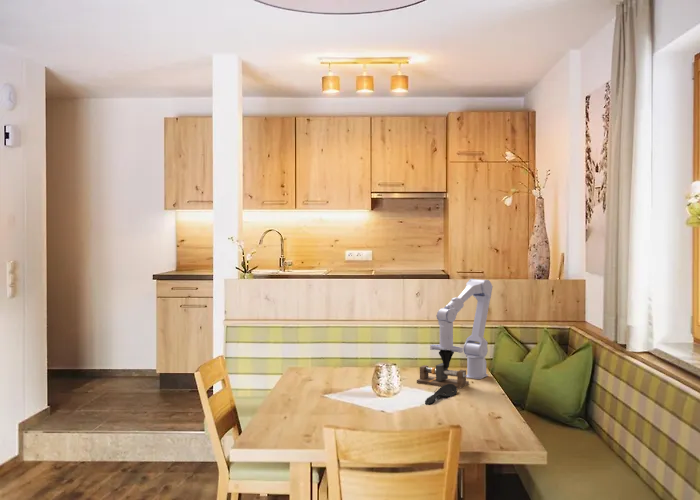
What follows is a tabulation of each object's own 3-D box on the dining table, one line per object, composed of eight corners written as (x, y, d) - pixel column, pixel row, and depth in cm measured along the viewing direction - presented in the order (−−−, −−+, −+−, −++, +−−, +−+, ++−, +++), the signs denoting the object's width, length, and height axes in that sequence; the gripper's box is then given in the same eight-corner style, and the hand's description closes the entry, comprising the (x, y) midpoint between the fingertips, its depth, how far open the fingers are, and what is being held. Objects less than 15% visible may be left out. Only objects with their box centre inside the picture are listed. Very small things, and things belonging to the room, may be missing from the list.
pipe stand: (427, 378, 302) (427, 364, 301) (468, 384, 290) (468, 369, 290) (416, 382, 293) (416, 368, 293) (458, 388, 282) (458, 373, 282)
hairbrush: (417, 397, 259) (442, 380, 281) (417, 406, 260) (442, 389, 281) (436, 400, 255) (460, 383, 277) (437, 409, 256) (461, 391, 277)
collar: (442, 377, 295) (442, 362, 295) (447, 378, 294) (447, 363, 294) (435, 380, 290) (435, 365, 290) (441, 381, 289) (440, 366, 288)
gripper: (426, 336, 291) (427, 367, 291) (457, 339, 283) (457, 371, 283) (434, 333, 297) (434, 364, 297) (464, 336, 289) (464, 368, 289)
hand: (446, 367), depth 291 cm, fingers closed
